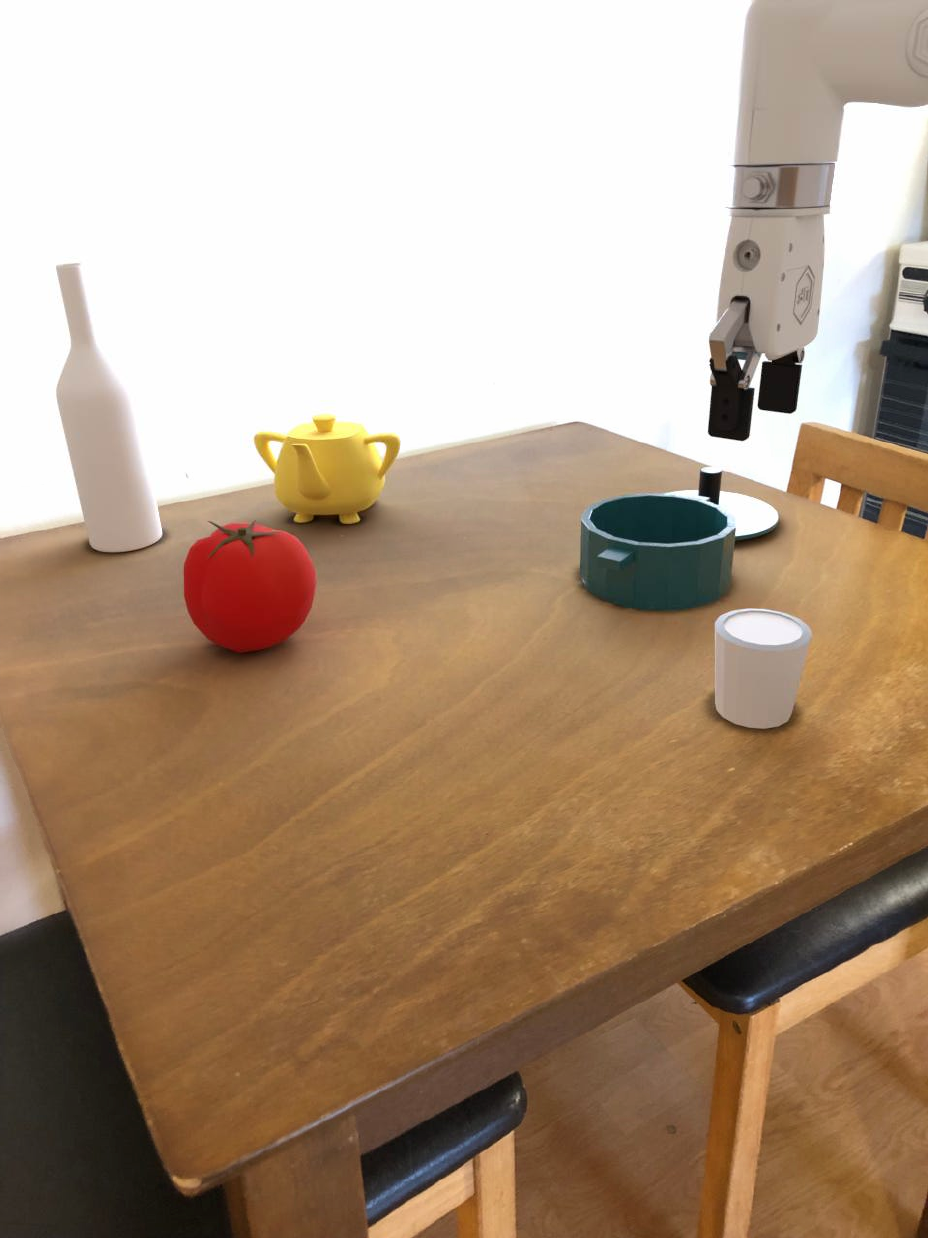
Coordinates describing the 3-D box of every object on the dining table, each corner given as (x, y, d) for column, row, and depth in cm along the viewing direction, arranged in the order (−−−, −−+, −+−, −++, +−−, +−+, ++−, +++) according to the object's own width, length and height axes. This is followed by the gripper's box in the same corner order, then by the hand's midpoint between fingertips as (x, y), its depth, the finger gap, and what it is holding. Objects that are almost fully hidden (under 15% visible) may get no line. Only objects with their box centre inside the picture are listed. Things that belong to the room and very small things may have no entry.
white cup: (797, 740, 67) (810, 655, 64) (701, 724, 70) (708, 641, 67) (802, 693, 73) (814, 613, 70) (712, 680, 75) (720, 602, 72)
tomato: (195, 619, 88) (175, 508, 84) (316, 604, 91) (304, 495, 86) (191, 681, 78) (168, 558, 73) (328, 662, 80) (315, 541, 75)
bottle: (145, 553, 104) (87, 268, 91) (77, 552, 105) (10, 269, 92) (173, 527, 111) (124, 259, 98) (109, 526, 112) (52, 261, 99)
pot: (761, 560, 97) (768, 501, 94) (679, 636, 82) (684, 568, 79) (634, 534, 105) (637, 478, 102) (539, 598, 90) (539, 535, 87)
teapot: (251, 512, 115) (238, 417, 110) (351, 486, 123) (342, 396, 118) (306, 543, 105) (294, 440, 100) (410, 513, 113) (404, 416, 108)
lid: (796, 512, 109) (803, 462, 106) (747, 557, 98) (753, 501, 95) (672, 490, 117) (676, 443, 115) (614, 529, 106) (616, 477, 103)
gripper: (784, 198, 60) (755, 457, 68) (868, 186, 72) (835, 407, 80) (677, 198, 64) (661, 442, 72) (774, 187, 76) (751, 396, 84)
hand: (753, 423), depth 76 cm, fingers open, 9 cm apart
